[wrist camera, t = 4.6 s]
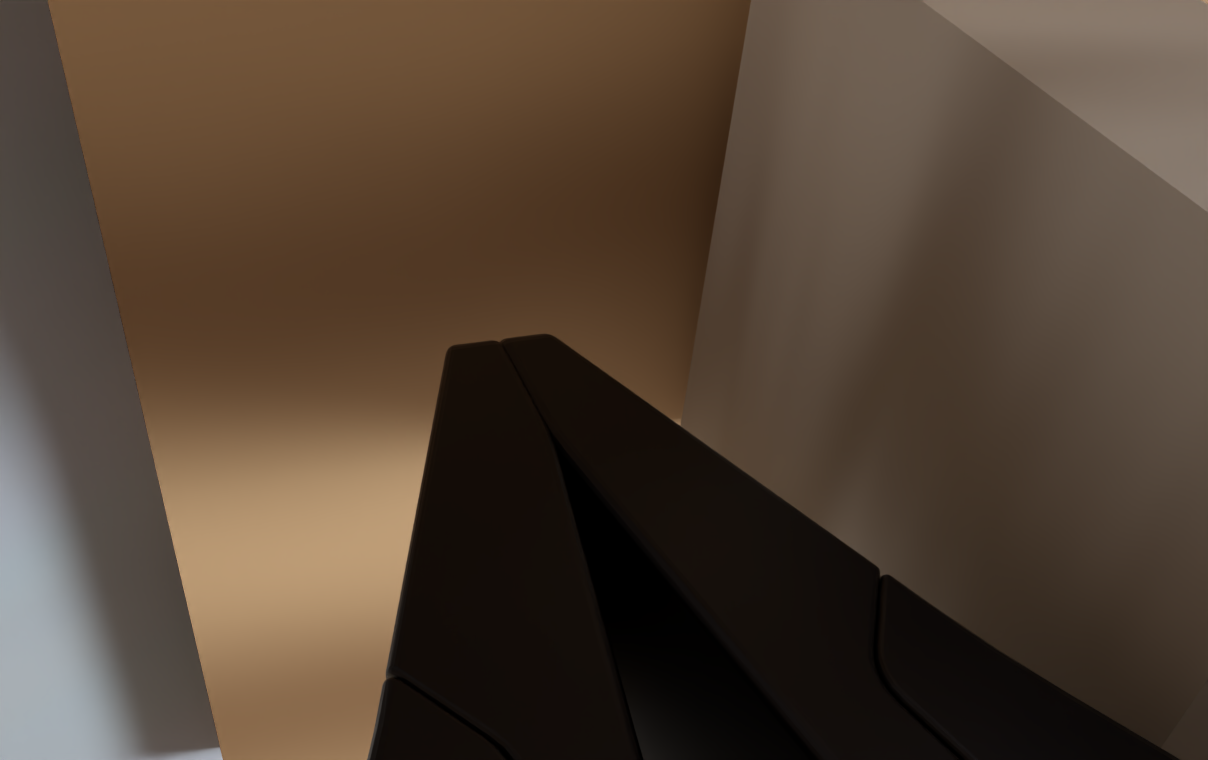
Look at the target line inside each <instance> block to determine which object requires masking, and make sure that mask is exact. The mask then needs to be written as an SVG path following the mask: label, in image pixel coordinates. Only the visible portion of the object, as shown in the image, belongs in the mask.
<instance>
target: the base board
mask: <svg viewBox="0 0 1208 760" xmlns="http://www.w3.org/2000/svg"><path fill="white" fill-rule="evenodd" d="M1201 1H1203V2H1205V3H1207V4H1208V0H1201ZM48 4H49V9H50V13H51V17H52V22H53V26H54V30H55V35H56V39H57V43H58V48H59V52H60V56H61V61H62V65H63V69H64V74H65V78H66V82H67V87H68V91H69V95H70V100H71V104H72V108H73V113H74V117H75V121H76V126H77V130H78V134H79V139H80V143H81V147H82V152H83V156H84V160H85V165H86V169H87V173H88V178H89V182H90V186H91V191H92V195H93V199H94V203H95V208H96V212H97V216H98V221H99V225H100V229H101V234H102V238H103V242H104V247H105V251H106V255H107V260H108V264H109V268H110V273H111V277H112V281H113V286H114V290H115V294H116V299H117V303H118V307H119V312H120V316H121V320H122V325H123V329H124V333H125V338H126V342H127V346H128V351H129V355H130V359H131V364H132V368H133V372H134V377H135V381H136V385H137V390H138V394H139V398H140V403H141V407H142V411H143V416H144V420H145V424H146V429H147V433H148V437H149V442H150V446H151V450H152V455H153V459H154V463H155V468H156V472H157V476H158V481H159V485H160V489H161V494H162V498H163V502H164V507H165V511H166V515H167V520H168V524H169V528H170V533H171V537H172V541H173V546H174V550H175V554H176V558H177V563H178V567H179V571H180V576H181V580H182V584H183V589H184V593H185V597H186V602H187V606H188V610H189V615H190V619H191V623H192V628H193V632H194V636H195V641H196V645H197V649H198V654H199V658H200V662H201V667H202V671H203V675H204V680H205V684H206V688H207V693H208V697H209V701H210V706H211V710H212V714H213V719H214V723H215V727H216V732H217V736H218V740H219V745H220V749H221V753H222V758H223V760H367V758H368V754H369V750H370V745H371V741H372V737H373V732H374V727H375V722H376V717H377V711H378V706H379V701H380V695H381V690H382V685H383V683H384V681H385V680H386V667H387V662H388V657H389V652H390V646H391V641H392V636H393V630H394V625H395V620H396V614H397V609H398V604H399V599H400V593H401V588H402V583H403V577H404V572H405V567H406V561H407V556H408V551H409V546H410V540H411V535H412V530H413V524H414V519H415V514H416V508H417V503H418V498H419V493H420V487H421V482H422V477H423V471H424V466H425V461H426V455H427V450H428V445H429V440H430V434H431V429H432V424H433V418H434V413H435V408H436V403H437V397H438V392H439V387H440V381H441V376H442V371H443V365H444V360H445V355H446V351H447V350H448V348H450V347H451V346H453V345H457V344H465V343H473V342H481V341H489V340H495V341H498V342H500V341H502V340H503V339H505V338H512V337H520V336H528V335H535V334H550V335H553V336H555V337H556V338H558V339H559V340H561V341H562V342H564V343H565V344H566V345H568V346H569V347H571V348H572V349H573V350H575V351H576V352H578V353H579V354H580V355H582V356H583V357H585V358H586V359H587V360H589V361H590V362H592V363H593V364H594V365H596V366H597V367H599V368H600V369H601V370H603V371H604V372H606V373H607V374H608V375H610V376H611V377H613V378H614V379H615V380H617V381H618V382H620V383H621V384H622V385H624V386H625V387H627V388H628V389H629V390H631V391H632V392H634V393H635V394H636V395H638V396H639V397H641V398H642V399H643V400H645V401H646V402H648V403H649V404H650V405H652V406H653V407H655V408H656V409H657V410H659V411H660V412H662V413H663V414H664V415H666V416H667V417H669V418H670V419H671V420H673V421H674V422H676V423H677V424H679V425H680V426H681V420H682V414H683V408H684V401H685V395H686V389H687V383H688V377H689V371H690V365H691V359H692V353H693V347H694V341H695V335H696V329H697V323H698V317H699V311H700V305H701V299H702V293H703V287H704V281H705V275H706V269H707V263H708V257H709V251H710V245H711V239H712V233H713V227H714V221H715V215H716V209H717V203H718V197H719V191H720V185H721V178H722V172H723V166H724V160H725V154H726V148H727V142H728V136H729V130H730V124H731V118H732V112H733V106H734V100H735V94H736V88H737V82H738V76H739V70H740V64H741V58H742V52H743V46H744V40H745V34H746V28H747V22H748V16H749V10H750V4H751V0H48Z"/></svg>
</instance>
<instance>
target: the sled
mask: <svg viewBox="0 0 1208 760" xmlns="http://www.w3.org/2000/svg"><path fill="white" fill-rule="evenodd" d="M681 427H683V428H684V429H686V430H687V431H688V432H690V433H691V434H693V435H694V436H695V437H697V438H698V439H700V440H701V441H702V442H704V443H705V444H707V445H708V446H709V447H711V448H712V449H714V450H715V451H716V452H718V453H719V454H721V455H722V456H723V457H725V458H726V459H728V460H729V461H730V462H732V463H733V464H735V465H736V466H737V467H739V468H740V469H742V470H743V471H744V472H746V473H747V474H749V475H750V476H751V477H753V478H754V479H756V480H757V481H758V482H760V483H761V484H763V485H764V486H765V487H767V488H768V489H770V490H771V491H772V492H774V493H775V494H777V495H778V496H779V497H781V498H782V499H784V500H785V501H786V502H788V503H789V504H791V505H792V506H793V507H795V508H796V509H798V510H799V511H800V512H802V513H803V514H805V515H806V516H807V517H809V518H810V519H812V520H813V521H814V522H816V523H817V524H819V525H820V526H821V527H823V528H824V529H826V530H827V531H828V532H830V533H831V534H833V535H834V536H835V537H837V538H838V539H840V540H841V541H843V542H844V543H845V544H847V545H848V546H850V547H851V548H852V549H854V550H855V551H857V552H858V553H859V554H861V555H862V556H864V557H865V558H866V559H868V560H869V561H871V562H872V563H873V564H875V565H876V566H877V567H878V568H879V569H880V577H881V576H882V575H885V574H888V575H891V576H892V577H894V578H895V579H896V580H898V581H899V582H901V583H902V584H903V585H905V586H906V587H908V588H909V589H910V590H912V591H913V592H915V593H916V594H917V595H919V596H920V597H922V598H923V599H924V600H926V601H927V602H929V603H930V604H932V605H933V606H934V607H936V608H937V609H939V610H940V611H942V612H943V613H945V614H946V615H948V616H949V617H951V618H952V619H954V620H955V621H957V622H958V623H960V624H961V625H962V626H964V627H965V628H967V629H968V630H970V631H971V632H973V633H974V634H976V635H977V636H979V637H980V638H982V639H983V640H985V641H986V642H988V643H989V644H990V645H992V646H993V647H995V648H996V649H998V650H1000V651H1001V652H1003V653H1005V654H1006V655H1008V656H1009V657H1011V658H1013V659H1014V660H1016V661H1017V662H1019V663H1021V664H1022V665H1024V666H1026V667H1027V668H1029V669H1030V670H1032V671H1034V672H1035V673H1037V674H1038V675H1040V676H1042V677H1043V678H1045V679H1047V680H1048V681H1050V682H1051V683H1053V684H1055V685H1056V686H1058V687H1060V688H1061V689H1063V690H1064V691H1066V692H1068V693H1069V694H1071V695H1072V696H1074V697H1076V698H1078V699H1079V700H1081V701H1083V702H1084V703H1086V704H1088V705H1089V706H1091V707H1093V708H1094V709H1096V710H1098V711H1100V712H1101V713H1103V714H1105V715H1106V716H1108V717H1110V718H1111V719H1113V720H1115V721H1116V722H1118V723H1120V724H1122V725H1123V726H1125V727H1127V728H1128V729H1130V730H1132V731H1133V732H1135V733H1137V734H1138V735H1140V736H1142V737H1144V738H1145V739H1147V740H1149V741H1150V742H1152V743H1154V744H1155V745H1157V746H1159V747H1160V748H1162V749H1164V750H1166V751H1167V752H1169V753H1171V754H1172V755H1174V756H1176V757H1177V758H1179V759H1181V760H1208V4H1207V3H1205V2H1203V1H1201V0H751V4H750V10H749V16H748V22H747V28H746V34H745V40H744V46H743V52H742V58H741V64H740V70H739V76H738V82H737V88H736V94H735V100H734V106H733V112H732V118H731V124H730V130H729V136H728V142H727V148H726V154H725V160H724V166H723V172H722V178H721V185H720V191H719V197H718V203H717V209H716V215H715V221H714V227H713V233H712V239H711V245H710V251H709V257H708V263H707V269H706V275H705V281H704V287H703V293H702V299H701V305H700V311H699V317H698V323H697V329H696V335H695V341H694V347H693V353H692V359H691V365H690V371H689V377H688V383H687V389H686V395H685V401H684V408H683V414H682V420H681Z"/></svg>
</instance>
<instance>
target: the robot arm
mask: <svg viewBox="0 0 1208 760" xmlns="http://www.w3.org/2000/svg"><path fill="white" fill-rule="evenodd" d="M367 760H1181V759H1179V758H1177V757H1176V756H1174V755H1172V754H1171V753H1169V752H1167V751H1166V750H1164V749H1162V748H1160V747H1159V746H1157V745H1155V744H1154V743H1152V742H1150V741H1149V740H1147V739H1145V738H1144V737H1142V736H1140V735H1138V734H1137V733H1135V732H1133V731H1132V730H1130V729H1128V728H1127V727H1125V726H1123V725H1122V724H1120V723H1118V722H1116V721H1115V720H1113V719H1111V718H1110V717H1108V716H1106V715H1105V714H1103V713H1101V712H1100V711H1098V710H1096V709H1094V708H1093V707H1091V706H1089V705H1088V704H1086V703H1084V702H1083V701H1081V700H1079V699H1078V698H1076V697H1074V696H1072V695H1071V694H1069V693H1068V692H1066V691H1064V690H1063V689H1061V688H1060V687H1058V686H1056V685H1055V684H1053V683H1051V682H1050V681H1048V680H1047V679H1045V678H1043V677H1042V676H1040V675H1038V674H1037V673H1035V672H1034V671H1032V670H1030V669H1029V668H1027V667H1026V666H1024V665H1022V664H1021V663H1019V662H1017V661H1016V660H1014V659H1013V658H1011V657H1009V656H1008V655H1006V654H1005V653H1003V652H1001V651H1000V650H998V649H996V648H995V647H993V646H992V645H990V644H989V643H988V642H986V641H985V640H983V639H982V638H980V637H979V636H977V635H976V634H974V633H973V632H971V631H970V630H968V629H967V628H965V627H964V626H962V625H961V624H960V623H958V622H957V621H955V620H954V619H952V618H951V617H949V616H948V615H946V614H945V613H943V612H942V611H940V610H939V609H937V608H936V607H934V606H933V605H932V604H930V603H929V602H927V601H926V600H924V599H923V598H922V597H920V596H919V595H917V594H916V593H915V592H913V591H912V590H910V589H909V588H908V587H906V586H905V585H903V584H902V583H901V582H899V581H898V580H896V579H895V578H894V577H892V576H891V575H888V574H885V575H882V576H881V577H880V569H879V568H878V567H877V566H876V565H875V564H873V563H872V562H871V561H869V560H868V559H866V558H865V557H864V556H862V555H861V554H859V553H858V552H857V551H855V550H854V549H852V548H851V547H850V546H848V545H847V544H845V543H844V542H843V541H841V540H840V539H838V538H837V537H835V536H834V535H833V534H831V533H830V532H828V531H827V530H826V529H824V528H823V527H821V526H820V525H819V524H817V523H816V522H814V521H813V520H812V519H810V518H809V517H807V516H806V515H805V514H803V513H802V512H800V511H799V510H798V509H796V508H795V507H793V506H792V505H791V504H789V503H788V502H786V501H785V500H784V499H782V498H781V497H779V496H778V495H777V494H775V493H774V492H772V491H771V490H770V489H768V488H767V487H765V486H764V485H763V484H761V483H760V482H758V481H757V480H756V479H754V478H753V477H751V476H750V475H749V474H747V473H746V472H744V471H743V470H742V469H740V468H739V467H737V466H736V465H735V464H733V463H732V462H730V461H729V460H728V459H726V458H725V457H723V456H722V455H721V454H719V453H718V452H716V451H715V450H714V449H712V448H711V447H709V446H708V445H707V444H705V443H704V442H702V441H701V440H700V439H698V438H697V437H695V436H694V435H693V434H691V433H690V432H688V431H687V430H686V429H684V428H683V427H681V426H680V425H679V424H677V423H676V422H674V421H673V420H671V419H670V418H669V417H667V416H666V415H664V414H663V413H662V412H660V411H659V410H657V409H656V408H655V407H653V406H652V405H650V404H649V403H648V402H646V401H645V400H643V399H642V398H641V397H639V396H638V395H636V394H635V393H634V392H632V391H631V390H629V389H628V388H627V387H625V386H624V385H622V384H621V383H620V382H618V381H617V380H615V379H614V378H613V377H611V376H610V375H608V374H607V373H606V372H604V371H603V370H601V369H600V368H599V367H597V366H596V365H594V364H593V363H592V362H590V361H589V360H587V359H586V358H585V357H583V356H582V355H580V354H579V353H578V352H576V351H575V350H573V349H572V348H571V347H569V346H568V345H566V344H565V343H564V342H562V341H561V340H559V339H558V338H556V337H555V336H553V335H550V334H535V335H528V336H520V337H512V338H505V339H503V340H502V341H500V342H498V341H495V340H489V341H481V342H473V343H465V344H457V345H453V346H451V347H450V348H448V350H447V351H446V355H445V360H444V365H443V371H442V376H441V381H440V387H439V392H438V397H437V403H436V408H435V413H434V418H433V424H432V429H431V434H430V440H429V445H428V450H427V455H426V461H425V466H424V471H423V477H422V482H421V487H420V493H419V498H418V503H417V508H416V514H415V519H414V524H413V530H412V535H411V540H410V546H409V551H408V556H407V561H406V567H405V572H404V577H403V583H402V588H401V593H400V599H399V604H398V609H397V614H396V620H395V625H394V630H393V636H392V641H391V646H390V652H389V657H388V662H387V667H386V680H385V681H384V683H383V685H382V690H381V695H380V701H379V706H378V711H377V717H376V722H375V727H374V732H373V737H372V741H371V745H370V750H369V754H368V758H367Z"/></svg>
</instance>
